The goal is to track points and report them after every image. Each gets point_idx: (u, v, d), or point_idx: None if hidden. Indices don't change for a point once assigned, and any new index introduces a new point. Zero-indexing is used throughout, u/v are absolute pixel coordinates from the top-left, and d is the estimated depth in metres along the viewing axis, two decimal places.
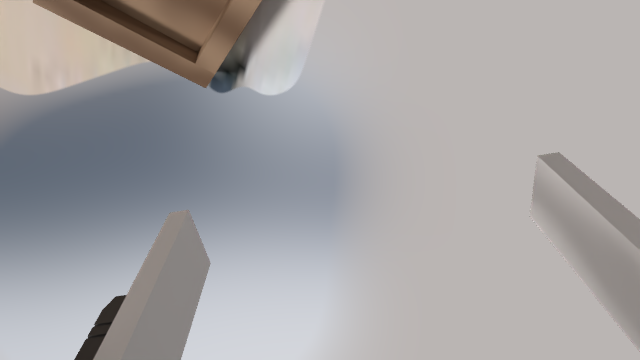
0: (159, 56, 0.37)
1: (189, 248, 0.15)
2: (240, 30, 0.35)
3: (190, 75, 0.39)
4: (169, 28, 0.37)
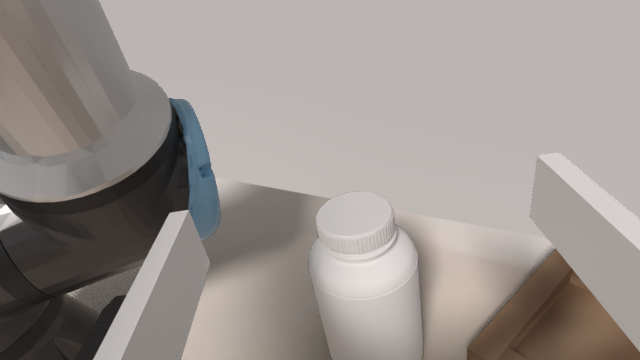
0: None
1: (189, 248, 0.15)
2: None
3: None
4: None
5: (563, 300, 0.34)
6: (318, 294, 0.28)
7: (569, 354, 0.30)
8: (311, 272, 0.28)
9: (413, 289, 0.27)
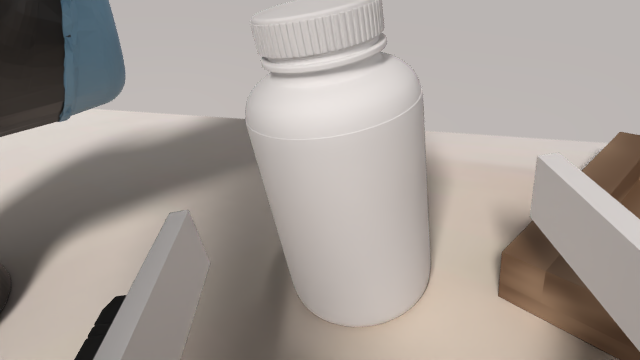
0: None
1: (189, 248, 0.15)
2: None
3: None
4: None
5: (634, 200, 0.23)
6: (258, 152, 0.17)
7: None
8: (247, 116, 0.17)
9: (415, 139, 0.16)
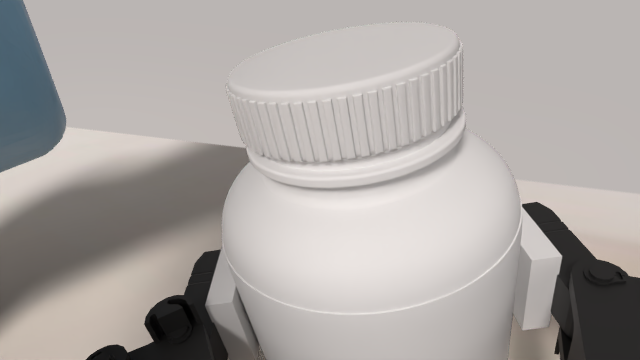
0: None
1: None
2: None
3: None
4: None
5: None
6: (242, 297, 0.10)
7: None
8: (223, 236, 0.10)
9: (512, 282, 0.09)
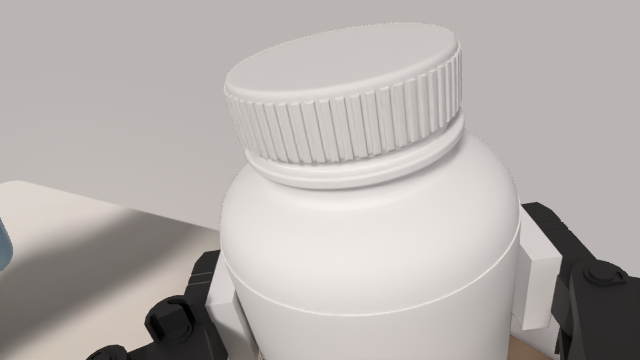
0: None
1: None
2: None
3: None
4: None
5: None
6: (240, 298, 0.10)
7: None
8: (221, 237, 0.10)
9: (510, 283, 0.09)
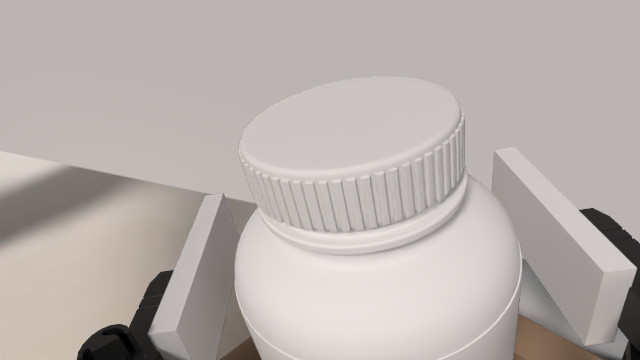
0: None
1: (225, 229, 0.15)
2: None
3: None
4: None
5: None
6: (255, 343, 0.11)
7: None
8: (236, 285, 0.11)
9: (512, 330, 0.10)
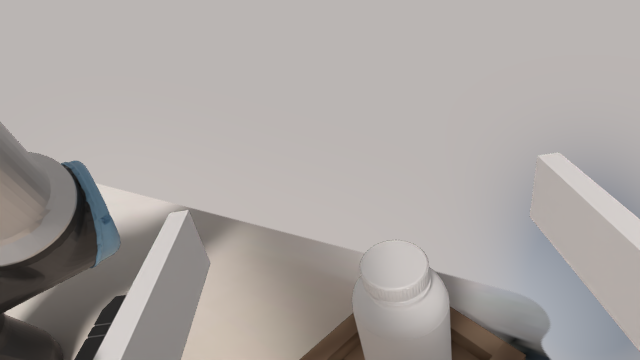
0: None
1: (189, 248, 0.15)
2: (453, 310, 0.41)
3: None
4: None
5: None
6: (362, 331, 0.32)
7: None
8: (356, 312, 0.32)
9: (445, 327, 0.31)
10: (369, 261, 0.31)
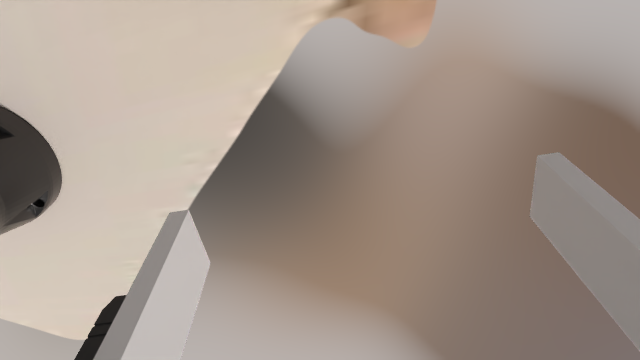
0: None
1: (189, 248, 0.15)
2: None
3: None
4: None
5: None
6: None
7: None
8: None
9: None
10: None
